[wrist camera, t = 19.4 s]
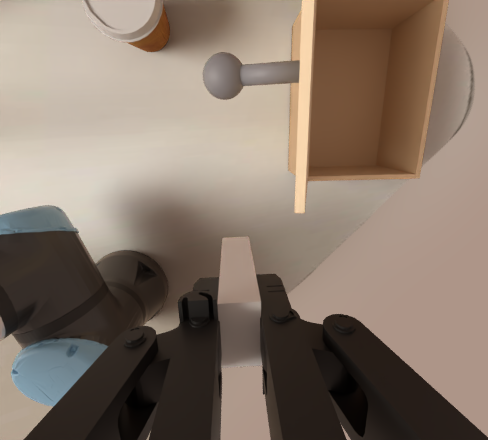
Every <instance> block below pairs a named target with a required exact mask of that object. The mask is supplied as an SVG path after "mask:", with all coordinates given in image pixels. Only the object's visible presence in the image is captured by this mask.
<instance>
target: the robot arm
mask: <svg viewBox="0 0 488 440" xmlns="http://www.w3.org/2000/svg"><path fill="white" fill-rule="evenodd" d="M78 233H79V232H78V230H77V229H76V228H74V227H73V225H72V223H71V222H70V220H69V219H68V217H67V216H66V214H65V213H64V211H63V210H62V209H60V208H58V207H56V206H51V205H45V206H38V207H33V208H28V209H23V210H19V211H14V212H10V213H6V214H2V215H0V341H1V340H3V339H4V338H6V337H7V336H9V335H10V334H11V333H12V335H13V336H14V337H15V339H16V340H17V342H18V343H19V344H20V346H21V347H22V350H21V351H20V352H19V353H18V355H17V356H16V358H15V361H14V362H13V365H12V368H13V370H12V372H11V376H12V379H13V382H14V383H15V385H16V387H17V388H18V389H19V390H20V391H21V392H22V393H23V394H24V395H25V396H27V397H28V398H30V399H32V400H34V401H36V402H38V403H41V404H44V405H47V406H54V407H53V408H52V409H51V410H50V411H49V412H48V413H47V415H46V416H45V417H44V418H43V419H42V420H41V421H40V422H39V423H38V424H37V426H36V427H35V428H34V429H33V430H32V431H31V432H30V433H29V434H28V436H27V437H26V438H25V439H24V440H146V439H147V437H148V435H149V433H150V431H151V433H150V437H149V440H220V429H221V398H222V396H221V394H222V372H221V367H222V368H229V367H230V368H231V367H246V366H261V365H263V394H265V399H266V406H267V414H268V422H269V428H270V437H271V440H347V439H346V437H345V435H344V432H343V429H342V426H343V428H344V429H345V431H346V432H347V434H348V436H349V437H350V439H351V440H488V437H487V436H486V435H484V434H483V433H482V432H481V431H480V430H479V429H478V428H477V427H476V426H475V425H473V424H472V423H471V422H470V421H469V420H468V419H467V418H466V417H465V416H463V415H462V414H461V413H460V412H459V411H458V410H457V409H456V408H455V407H454V406H453V405H451V404H450V403H449V402H448V401H447V400H446V399H445V398H444V397H443V396H442V395H440V394H439V393H438V392H437V391H436V390H435V389H434V388H432V387H431V385H429V384H428V383H427V382H426V381H425V380H424V379H423V378H422V377H421V376H419V375H418V374H417V373H416V372H415V371H414V370H413V369H412V368H411V367H410V366H408V365H407V364H406V363H405V362H404V361H403V360H402V359H401V358H400V357H399V356H397V355H396V354H395V353H394V352H393V351H392V350H391V349H390V348H389V347H387V346H386V345H385V344H384V343H383V342H382V341H381V340H380V339H379V338H378V337H376V336H375V335H374V334H373V333H372V332H371V331H370V330H369V329H368V328H366V327H365V326H364V325H363V324H362V323H361V322H360V321H358V320H357V319H355V318H353V317H350V316H348V315H343V314H333V315H330V316H328V317H326V318H325V319H324V320H323V325H322V324H316V323H311V322H307V321H304V320H302V319H300V316H299V315H298V313H297V312H296V311H295V310H293V309H292V308H291V305H290V303H289V300H288V297H287V294H286V291H285V289H284V286H283V283H282V280H281V278H279V277H278V276H277V275H276V274H261V275H256V272H255V267H254V262H253V256H252V251H251V246H250V240H249V237H227V238H222V250H221V263H220V276H219V277H217V278H200V279H199V280H198V281H197V282H196V283H195V284H194V287H193V291H192V292H189V293H187V294H185V295H183V296H182V297H180V299H179V300H178V309H179V318H180V324H179V327H177V328H175V329H173V330H171V331H168V332H165V333H162V334H158V335H156V331H155V330H154V329H153V328H151V327H148V326H143V325H144V324H145V323H146V322H147V321H149V320H150V319H152V318H153V317H154V316H155V315H156V314H157V313H158V312H159V311H160V310H161V308H162V306H163V304H164V302H165V300H166V297H167V293H168V283H167V279H166V276H165V274H164V272H163V270H162V269H161V267H160V266H159V265H158V264H157V263H156V262H155V261H154V260H152V259H151V258H149V257H148V256H146V255H143V254H141V253H138V252H134V251H117V252H113V253H110V254H108V255H106V256H104V257H103V258H102V259H100V260H99V261H98V262H97V263H96V264H95V263H94V261H93V259H92V257H91V256H90V254H89V252H88V250H87V249H86V247H85V245H84V243H83V242H82V240H81V238H80V236H79V235H78ZM340 423H341V424H340ZM341 425H342V426H341Z"/></svg>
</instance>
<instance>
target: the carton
mask: <svg viewBox="0 0 488 440" xmlns="http://www.w3.org/2000/svg"><path fill="white" fill-rule="evenodd" d="M448 2H449V0H316V18H315V39H314V59H313V80H312V101H311V122H310V143H309V164H308V181H327V180H370V179H412V178H420V172H421V166H422V160H423V154H424V148H425V142H426V136H427V129H428V123H429V117H430V111H431V105H432V99H433V93H434V87H435V81H436V75H437V69H438V63H439V57H440V51H441V45H442V39H443V33H444V27H445V20H446V14H447V8H448ZM301 15H302V9H301V11H300V13H299V15H298V17H297V19H296V21H295V23H294V24H293V26H292V52H291V61H296V60H300V43H301ZM298 100H299V83H291V89H290V126H289V162H288V170H289V171H290V172H291V173H293V174H294V175H296V157H297V128H298Z"/></svg>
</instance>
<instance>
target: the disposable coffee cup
mask: <svg viewBox="0 0 488 440" xmlns="http://www.w3.org/2000/svg"><path fill="white" fill-rule="evenodd" d="M81 1H82V5H83V7H84V10H85V12H86V14H87V16H88V18H89V19H90V21H91V22H92V23H93V25H94V26H95V27H96V28H97V29H98V30H99V31H100V32H101V33H103V34H104V35H105V36H107V37H109V38H111V39H113V40H116V41H120V42H127V43H129V44H131V45H133V46H135V47H138V48H140V49H142V50H144V51H147V52H155V51H158V50H160V49H162V48H163V47H164V46H165V45H166V43H167V41H168V39H169V35H170V27H169V22H168V19H167V15H166V12H165V8H164V4H163V0H81Z"/></svg>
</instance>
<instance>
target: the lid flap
mask: <svg viewBox="0 0 488 440" xmlns="http://www.w3.org/2000/svg"><path fill="white" fill-rule="evenodd" d="M315 18H316V0H302V15H301V43H300V60H296V61H284V62H271V63H258V64H245V65H242V63H241V62H240V61H239V59H238V58H237V57H235V56H234V55H232V54H230V53H225V52H221V53H217V54H215V55H213V56H212V57H210V58H209V59H208V61H207V62H206V64H205V67H204V70H203V80H204V84H205V86H206V88H207V90H208V91H209V93H210V94H212V95H213V96H214V97H216V98H218V99H223V100H227V99H231V98H233V97H235V96H236V95H238V94H239V93H240V91H241V90H242V88H243V86H252V85H268V84H285V83H299V100H298V128H297V157H296V185H295V213H305V203H306V193H307V183H308V164H309V143H310V122H311V101H312V80H313V59H314V39H315Z"/></svg>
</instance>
